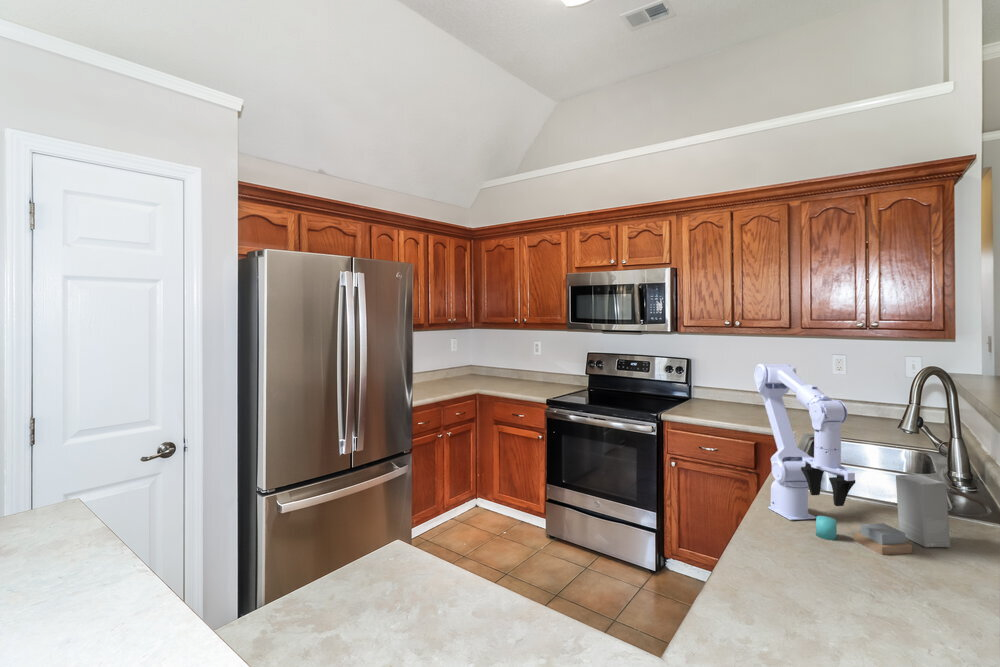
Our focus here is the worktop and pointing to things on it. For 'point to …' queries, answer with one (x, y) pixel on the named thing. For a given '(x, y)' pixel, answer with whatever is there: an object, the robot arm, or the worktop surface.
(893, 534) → the slate top slab
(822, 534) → the teal cylinder
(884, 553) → the walnut base slab
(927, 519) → the skincare box
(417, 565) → the worktop surface
